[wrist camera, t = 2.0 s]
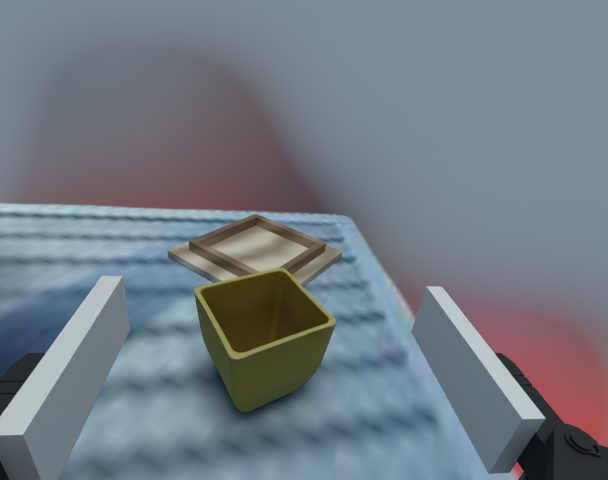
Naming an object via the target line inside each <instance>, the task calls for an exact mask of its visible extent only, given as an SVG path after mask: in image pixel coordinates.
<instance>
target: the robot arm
mask: <svg viewBox="0 0 608 480" xmlns="http://www.w3.org/2000/svg"><path fill="white" fill-rule="evenodd" d="M129 330H130V324H129V317H128V311H127V304H126V297H125V290H124V284H123V277H122V276H102V277H101V278H100V279H99V281H98V282H97V283H96V285H95V286H94V288H93V289H92V290H91V292H90V293H89V294H88V296H87V297H86V299H85V300H84V301H83V303H82V304H81V306H80V307H79V308H78V310H77V311H76V312H75V314H74V315H73V317H72V318H71V319H70V321H69V322H68V323H67V325H66V326H65V328H64V329H63V330H62V332H61V333H60V334H59V336H58V337H57V339H56V340H55V341H54V343H53V344H52V346H51V347H50V348H49V350H48V351H47V352H46V353H28V354H27V355H25V356H24V357H23V358H21V359H20V360H18V361H17V362H16V363H14V364H13V365H12V366H10V368H9V369H8V370H7V371H6V373H5V374H4V375H3V376H2V378H1V379H0V480H58V479H59V477H60V474H61V472H62V470H63V468H64V466H65V464H66V462H67V460H68V458H69V456H70V454H71V451H72V449H73V447H74V445H75V443H76V441H77V439H78V437H79V435H80V433H81V431H82V429H83V426H84V424H85V422H86V420H87V418H88V416H89V414H90V412H91V410H92V408H93V406H94V403H95V401H96V399H97V397H98V395H99V393H100V391H101V389H102V387H103V385H104V383H105V381H106V378H107V376H108V374H109V372H110V370H111V368H112V366H113V364H114V362H115V360H116V358H117V355H118V353H119V351H120V349H121V347H122V345H123V343H124V341H125V339H126V337H127V335H128V333H129ZM411 333H412V334H413V336H414V338H415V340H416V342H417V344H418V345H419V347H420V349H421V351H422V353H423V354H424V356H425V358H426V360H427V362H428V364H429V365H430V367H431V369H432V371H433V373H434V375H435V376H436V378H437V380H438V382H439V384H440V386H441V387H442V389H443V391H444V393H445V395H446V396H447V398H448V400H449V402H450V404H451V406H452V407H453V409H454V411H455V413H456V415H457V417H458V418H459V420H460V422H461V424H462V426H463V428H464V429H465V431H466V433H467V435H468V437H469V438H470V440H471V442H472V444H473V446H474V448H475V449H476V451H477V453H478V455H479V457H480V459H481V460H482V462H483V464H484V466H485V468H486V469H487V471H488V473H489V474H492V473H510V471H511V470H512V468H513V467H514V465H515V464H516V462H518V463H519V465H520V466H521V468H522V469H523V471H524V472H523V474H522V475H521V477H520V478H519V479H518V480H608V447H604V446H601V445H599V444H598V443H597V442H596V441H595V440H594V439H593V438H592V437H591V436H590V435H588V434H587V433H586V432H584V431H582V430H581V429H579V428H577V427H574V426H572V425H569V424H565V423H564V422H563V421H562V420H561V419H560V418H559V416H558V415H557V414H556V413H555V412H554V411H553V409H552V408H551V407H550V406H549V404H548V403H547V402H546V401H545V400H544V399H543V397H542V396H541V395H540V394H539V392H538V391H537V390H536V389H535V388H534V387H532V384H531V383H530V382H529V380H528V379H527V378H526V377H524V375H523V373H522V372H521V371H520V369H519V368H518V367H517V366H516V365H515V363H513V362H512V361H511V360H510V359H508V358H507V357H506V356H504V355H503V354H501V353H494V352H493V351H492V350H491V348H490V347H489V346H488V345H487V343H486V342H485V341H484V340H483V338H482V337H481V336H480V335H479V333H478V332H477V331H476V330H475V328H474V327H473V326H472V324H471V323H470V322H469V321H468V319H467V318H466V317H465V316H464V314H463V313H462V312H461V310H460V309H459V308H458V307H457V305H456V304H455V303H454V302H453V300H452V299H451V298H450V297H449V295H448V294H447V293H446V291H445V290H444V289H443V288H442V287H429V286H427V287H426V290H425V293H424V295H423V299H422V301H421V305H420V308H419V310H418V313H417V316H416V319H415V322H414V325H413V328H412V331H411Z"/></svg>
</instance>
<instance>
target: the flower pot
mask: <svg viewBox="0 0 608 480" xmlns="http://www.w3.org/2000/svg"><path fill="white" fill-rule="evenodd" d="M194 293H195V299H196V305H197V311H198V316H199V321H200V327H201V332H202V336H203V339H204V342H205V345H206V347H207V350H208V352H209V354H210V356H211V358H212V360H213V362H214V364H215V366H216V367H217V369H218V371H219V373H220V375H221V377H222V379H223V382H224V384H225V386H226V388H227V390H228V392H229V394H230V397H231V399H232V401H233V403H234V405H235V406H236V408H237V409H238V410H240V411H242V412H250V411H252V410H254V409H256V408H258V407H260V406H263V405H265V404H267V403H269V402H271V401H274V400H276V399H278V398H280V397H282V396H285V395H287V394H289V393H291V392H293V391H295V390H296V389H297V388H299V387H300V386H302V385H303V384H304V383H306V382H307V381H308V380H309V379H310V378H311V377H312V376H313V374H314V373H315V372H316V370H317V369H318V367H319V365H320V364H321V361H322V359H323V356H324V354H325V351H326V348H327V346H328V343H329V340H330V338H331V335H332V332H333V329H334V327H335V324H336V320H335V319H334V317H333V316H332V315H331V314H330V313H329V312H328V311H327V310H326V309H325V308H324V307H322V306H321V305H320V304H319V303H318V302H317V301H316V300H315V299H314V298H313V297H312V296H311V295H310V294H309V293H308V292H307V291H306V290H305V289H304V288H303V287H302V286H301V285H300V283H299V282H298V281H297V280H296V279H295V278H294V277H293V276H292V275H291V274H290V273H289V272H288V271H287V270H286V269H284V268H276V269H272V270H268V271H264V272H259V273H255V274H251V275H246V276H242V277H238V278H233V279H229V280H225V281H220V282H216V283H212V284H207V285H203V286H200V287H196V288H195V289H194Z"/></svg>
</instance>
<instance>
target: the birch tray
mask: <svg viewBox="0 0 608 480" xmlns="http://www.w3.org/2000/svg"><path fill="white" fill-rule="evenodd" d="M168 257H170V258H171V259H173V260H175V261H177V262H178V263H180V264H182V265H184V266H186V267H187V268H189V269H191V270H193V271H194V272H196V273H198V274H200V275H201V276H203V277H205V278H207V279H208V280H210V281H212V282H214V283H216V282H220V281H225V280H229V279H233V278H238V277H242V276H246V275H251V274H255V273H259V272H264V271H268V270H272V269H276V268H284V269H286V270H287V271H288V272H289V273H290V274H291V275H292V276H293V277H294V278H295V279H296V280H297V281H298V282H299V283H300V285H301V286H302V287H304V286H305V285H307V284H308V283H309V282H310V281H312V280H313V279H314V278H315V277H317V276H318V275H319V274H321V273H322V272H323V271H324V270H326V269H327V268H328V267H330V266H331V265H332V264H333V263H335V262H336V261H337V260H338V259H340V258H341V257H342V251H339V250H337V249H335V248H332V247H330V246H327V245H326V243H325V242H323V241H320V240H318V239H315V238H313V237H311V236H308V235H306V234H303V233H301V232H298V231H296V230H294V229H291V228H289V227H286V226H284V225H281V224H279V223H277V222H274V221H272V220H269V219H267V218H264V217H262V216H260V215H257V214H254V215H252V216H249V217H247V218H244V219H242V220H239V221H237V222H235V223H232V224H230V225H227V226H225V227H222V228H220V229H217V230H215V231H212V232H210V233H208V234H205V235H203V236H200V237H198V238H195V239H193V240H190V241H189V242H187V243H184V244H182V245H180V246H177V247H175V248H172V249H170V250H168Z"/></svg>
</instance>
